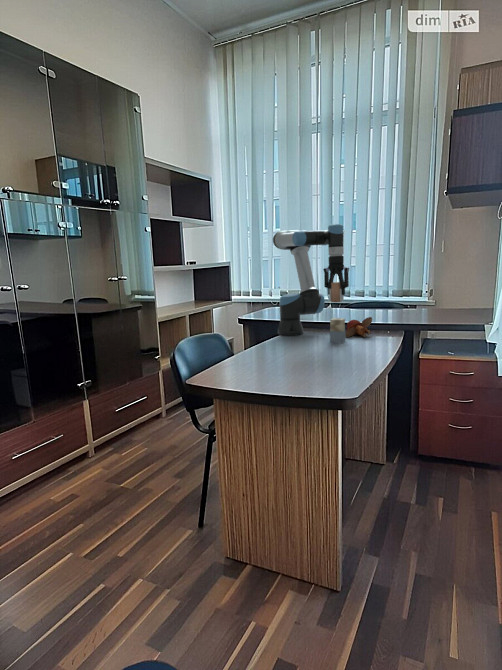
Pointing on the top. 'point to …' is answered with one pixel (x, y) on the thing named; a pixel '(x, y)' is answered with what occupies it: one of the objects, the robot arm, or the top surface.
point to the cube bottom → (337, 336)
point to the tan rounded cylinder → (335, 291)
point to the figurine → (358, 327)
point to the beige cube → (337, 324)
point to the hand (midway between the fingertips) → (336, 301)
